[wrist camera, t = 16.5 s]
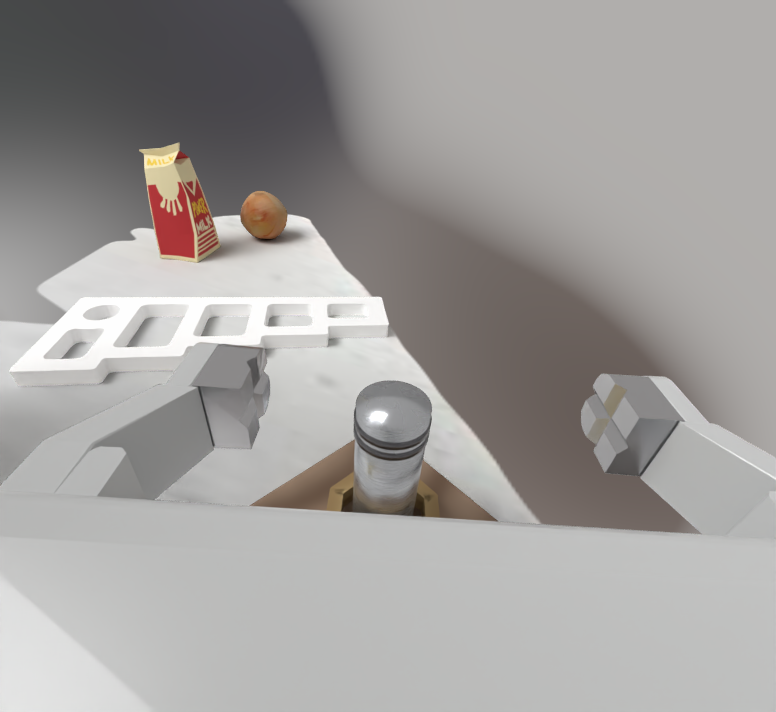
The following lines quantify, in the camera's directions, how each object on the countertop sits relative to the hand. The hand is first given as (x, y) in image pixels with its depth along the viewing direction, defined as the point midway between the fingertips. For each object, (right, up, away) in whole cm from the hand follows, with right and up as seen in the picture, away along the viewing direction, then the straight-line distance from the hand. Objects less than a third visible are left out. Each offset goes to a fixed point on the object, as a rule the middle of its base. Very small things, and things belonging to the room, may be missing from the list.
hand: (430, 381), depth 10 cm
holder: (-23, +2, +48) cm, 53 cm away
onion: (-29, +27, +81) cm, 90 cm away
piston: (-2, -14, +25) cm, 28 cm away
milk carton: (-41, +21, +72) cm, 85 cm away
